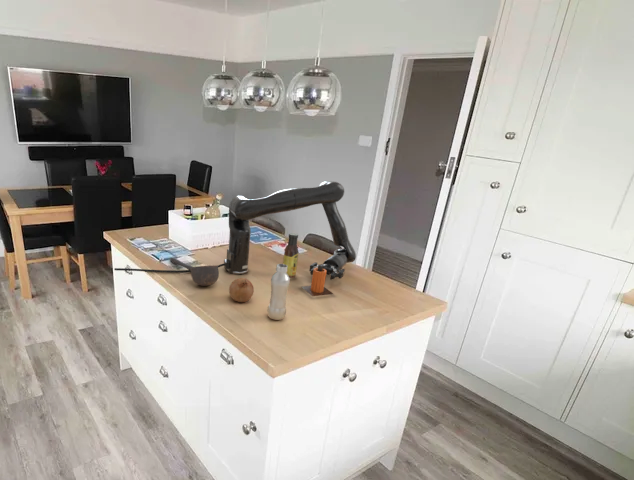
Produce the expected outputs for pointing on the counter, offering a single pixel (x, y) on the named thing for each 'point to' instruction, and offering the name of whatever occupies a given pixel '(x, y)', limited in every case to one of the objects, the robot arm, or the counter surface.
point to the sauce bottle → (291, 255)
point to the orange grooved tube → (318, 280)
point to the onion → (241, 290)
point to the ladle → (201, 273)
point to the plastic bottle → (278, 293)
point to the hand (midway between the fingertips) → (321, 275)
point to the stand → (308, 289)
